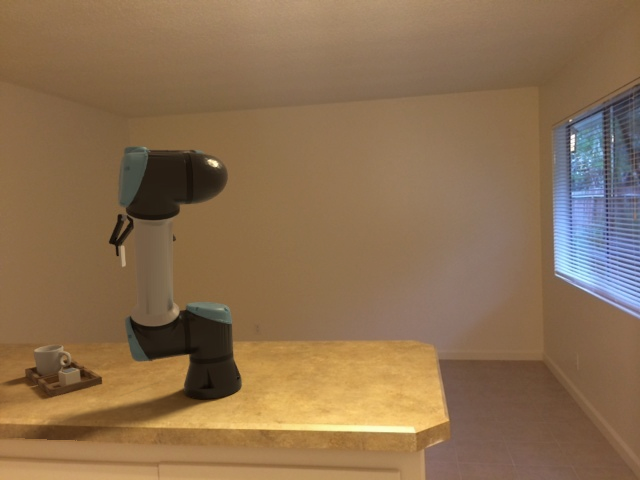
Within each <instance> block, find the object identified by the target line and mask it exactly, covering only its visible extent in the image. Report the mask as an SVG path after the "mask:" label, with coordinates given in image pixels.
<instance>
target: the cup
mask: <svg viewBox="0 0 640 480" xmlns="http://www.w3.org/2000/svg"><path fill="white" fill-rule="evenodd" d="M64 356H65V357H66V358H67V359H66V360H67V363H66V364H65V363H64V362H63V360H64ZM33 357H34V362H35V367H37V372H38V374H39V375H40V376H45V375H49V374H53V373H58V372H60V371H62V369H63V367H67V366H69V365H70V363H71V359H72V356H71V353H69V352H68V351H65V350H64V345H62V344H49V345H44V346H41V347H38V348H35V349H34V350H33Z"/></svg>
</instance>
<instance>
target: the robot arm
mask: <svg viewBox="0 0 640 480" xmlns="http://www.w3.org/2000/svg"><path fill="white" fill-rule="evenodd" d="M228 180H229V174H228V170H227V167H226V165H225V163H224V162H223V161H222V160H221V159H220V158H218V157H216V156H215V155H211V154H207V153H204V151H202V150H197V149H196V150H195V149H175V150H174V149H149V148H148V147H146V146H135V145H134V146H127V147H125V148H124V149H123V157H122V158H121V160H120V166H119V173H118V183H117V185H118V191H117V201H118V202H117V203H118V206H119V207H122V208H125V214H124V213H118V214H117V219H116V220H117V221H116V223H115V226H114V227H113V228H114V229H113V230H112V233H111V236H110V238H109V240H108V244H110V245H113V246H115V255H116V257H118V261H119V268H124V267H126V265H127V264H126V263H127V262H126V249H125V245H123V243H124V242H125V241H126V240H127V238H128V237H129V235H130V234H131V233H132V232H133V236H134V237H133V240H134V242H133V244H134V264H135V265H134V268H135V287H136V288H135V290H136V304H135V305H133V307H132V309H131V311H130V315H129V316H126V317H125V318H124V325H125V332H126V336H127V341H128V347H129V351H130V355H131V357H132V359H133V361H134V362H135V361H136V362H152V361H156V360H162V359H168V358H174V357H175V358H176V357H181V356H187V355H188V357H189V360H188V361H189V363H188V364H189V365H188V368H187V372H186V376H185V380H184V383H183V387H184V389H183V390H184V391H183V392H184V394H185V396H187V397H189V398H193V399H197V400H198V399H199V400H211V399H217V398H218V399H220V398H222V397H226V396H230V395H233V394H235V393H236V392H238V391H239V390H241V388H242V386H243V385H242V383H243V381H242V376H241V374H240V373H241V372H240V371H239V368H238V366H237V363H236V361H235V358H234V357H235V355H234V338H233V337H234V336H233V319H232V312H231V309H230V307H229V306H228V305H226V304H223V303H219V302H211V301H210V302H209V301H196V302H189V303H186V305H185V308H184V309H181V310H180V306H179V305H178V304H177V303H175V302H174V242H175V241H177V238H176V236H175V234H174V220H175V218H177V217H178V216H179V215H180V212H181V206H182V205H197V204H202V203H205V202H208V201H211V200H212V199H214V198H215V197H217V196H218V195H219V194H221V193H222V192H223V191H224V190H225V188H226V186H227V184H228ZM127 220H128V222H129V223H128V224H127V225H126V227H125V229H124V230H123V232H122V233H121V231H122V229H123V226H124V224H125V222H126V221H127ZM120 233H121V234H120Z"/></svg>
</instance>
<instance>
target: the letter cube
mask: <svg viewBox="0 0 640 480" xmlns="http://www.w3.org/2000/svg"><path fill="white" fill-rule="evenodd" d="M58 373H59V385H60V386H65V385H69V384H73V383H76V382H80V381H81V380H80V370H78V369H75V368H70V369H66V370H63V371H60V372H58Z"/></svg>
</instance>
